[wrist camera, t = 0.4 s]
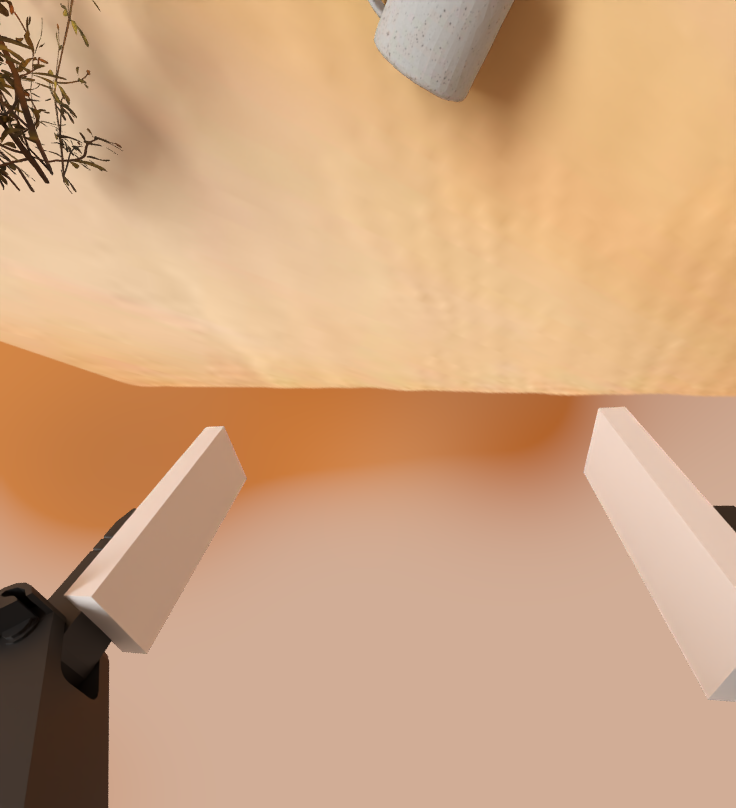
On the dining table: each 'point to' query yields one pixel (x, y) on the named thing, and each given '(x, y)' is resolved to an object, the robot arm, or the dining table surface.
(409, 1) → the ceramic mug
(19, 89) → the dried plant
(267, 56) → the dining table surface
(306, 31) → the dining table surface
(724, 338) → the dining table surface
